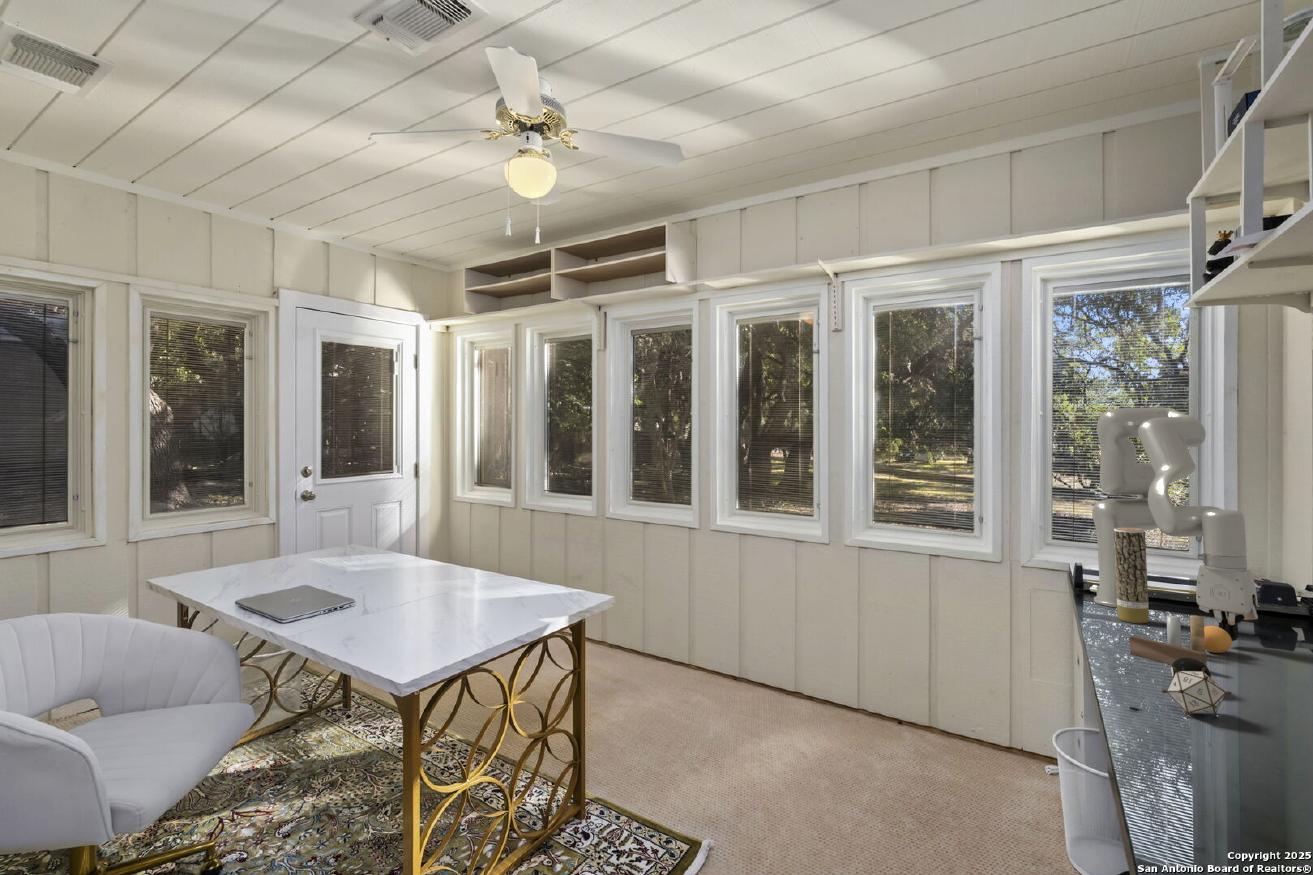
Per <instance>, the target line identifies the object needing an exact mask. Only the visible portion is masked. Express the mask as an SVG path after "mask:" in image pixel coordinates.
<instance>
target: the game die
mask: <svg viewBox="0 0 1313 875" xmlns="http://www.w3.org/2000/svg"><path fill="white" fill-rule="evenodd" d="M1173 669H1174V671H1176V672H1175V675H1174V677H1172V678H1171V681H1170V683H1169V685H1168V687H1167V689H1162V690H1160V692H1161V693H1163V694H1166V693H1167V694H1168V695H1169V696H1170V697H1171V698H1172V699H1173V700H1174V701H1175V702H1176V703H1177V704H1178V705H1179V706H1180V707H1181V708H1182V709H1183V710H1184V711H1185V712H1186V713H1185V714H1187V715H1189V716H1190V714H1204V715H1207V714H1208V715H1214V714H1215V715H1219V714H1218V713H1217V712H1218V710H1219V708H1220V706H1221V704H1222V703H1223V701H1224V698H1225V696H1226V695H1232V694H1233V692H1232V691H1230V690H1229V691H1228V690H1227V691H1225V689H1224V688H1222V687H1221V686H1220V685H1219V684H1218V683H1216V681H1215V680H1213V679H1212V677H1211V678H1210V677H1209V676H1208V675H1207V674H1206V673H1205V670H1206V669H1205V667H1204V668H1202V671H1178V670H1177V669H1176V668H1175V667H1173ZM1215 715H1214V716H1215Z"/></svg>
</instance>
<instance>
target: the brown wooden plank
mask: <svg viewBox="0 0 1313 875" xmlns="http://www.w3.org/2000/svg"><path fill="white" fill-rule="evenodd" d="M1129 654H1130V655H1134V656H1137V657H1141V658H1145V659H1148V660H1152V661H1156V662H1160V663H1162V664H1165V665H1166V664H1167V665H1170V666H1172V664H1173V662H1174V661H1175V660H1177V659H1180V658H1193V659H1196V660H1199V661H1200V662H1202V663H1204V664H1205V665H1206V666H1207V667H1208V662H1207V660H1208V659H1207V652H1205V653H1203V652H1199V651H1195V650H1191V648H1188V647H1187V648H1186V647H1183V646H1181V647H1179V646H1175V645H1170V644H1168V643H1166V642H1163V641H1158V640H1153V639H1148V638H1144V637H1141V636H1137V635H1131V636H1129Z"/></svg>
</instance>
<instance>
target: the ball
mask: <svg viewBox="0 0 1313 875" xmlns="http://www.w3.org/2000/svg"><path fill="white" fill-rule="evenodd" d="M1204 633H1205V651H1207V652H1209V653H1213V654H1221V653H1225V652H1228V651H1229V650H1230V649H1231V647H1232V645H1233V641H1232V640H1231V637H1230V635H1229V634H1228V633H1227V632H1226V631H1225V630H1223V629H1222V628H1219V626H1215V625H1206V626H1205V625H1204Z"/></svg>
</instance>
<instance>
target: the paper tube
mask: <svg viewBox="0 0 1313 875" xmlns="http://www.w3.org/2000/svg"><path fill="white" fill-rule="evenodd" d="M1114 544H1115V567H1116V591H1117V608H1116V610H1117V611H1116V612H1117V618H1118V620H1120V621H1123V622H1126V623H1129V624H1130V623H1131V624H1147V623H1149V621H1150V616H1149V591H1148V590H1149V587H1148V565H1147V548H1146V547H1147V546H1146V545H1147V544H1146V530H1144V529H1138V528H1114Z"/></svg>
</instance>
